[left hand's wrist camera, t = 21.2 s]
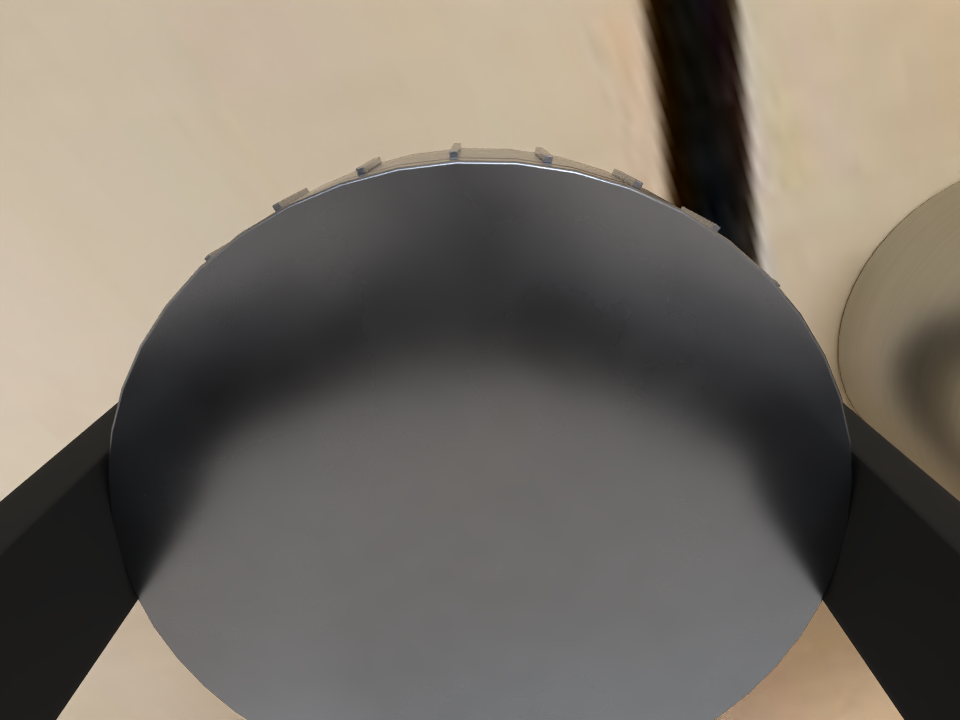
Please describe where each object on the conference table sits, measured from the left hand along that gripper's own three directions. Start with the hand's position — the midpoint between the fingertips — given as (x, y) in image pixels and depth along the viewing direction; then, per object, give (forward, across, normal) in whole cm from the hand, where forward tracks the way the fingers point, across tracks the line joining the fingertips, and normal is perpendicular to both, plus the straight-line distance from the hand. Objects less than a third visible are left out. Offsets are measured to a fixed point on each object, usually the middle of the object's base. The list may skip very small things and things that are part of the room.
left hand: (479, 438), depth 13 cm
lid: (-3, 0, 0) cm, 3 cm away
